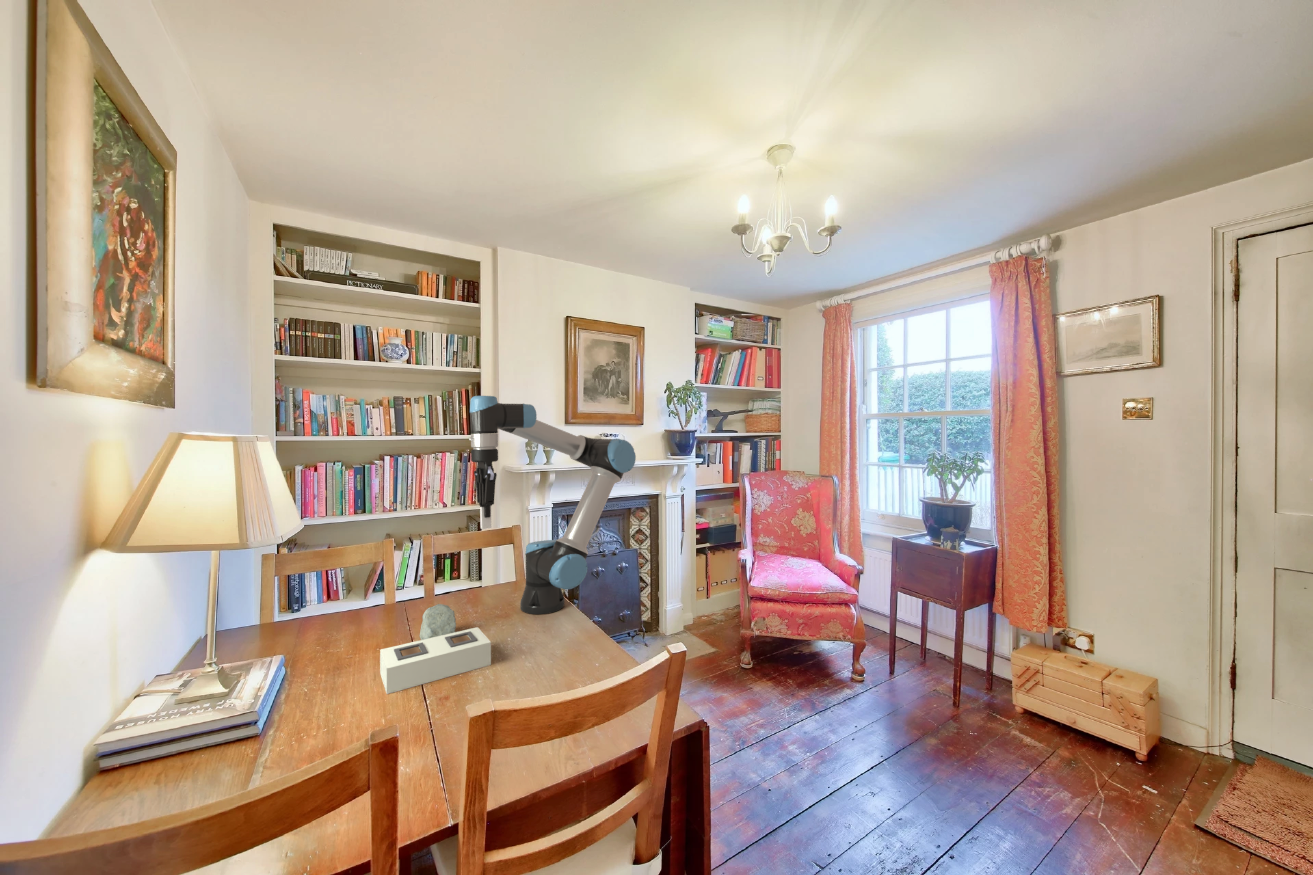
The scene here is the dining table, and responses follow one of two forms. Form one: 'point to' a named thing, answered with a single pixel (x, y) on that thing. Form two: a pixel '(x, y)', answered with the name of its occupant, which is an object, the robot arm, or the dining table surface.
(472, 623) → the dining table surface
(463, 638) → the peg
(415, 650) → the peg
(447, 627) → the decorative stone
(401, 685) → the socket block
